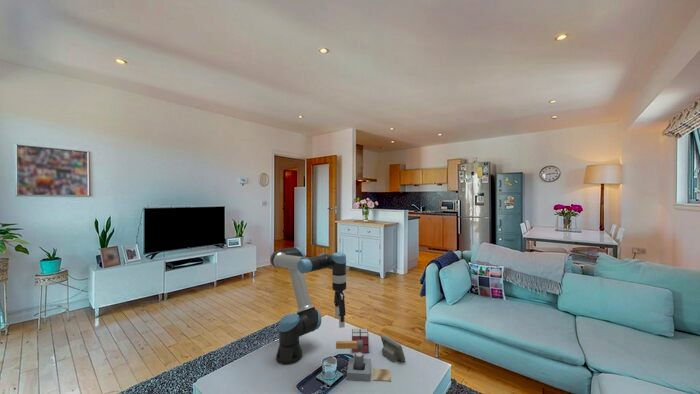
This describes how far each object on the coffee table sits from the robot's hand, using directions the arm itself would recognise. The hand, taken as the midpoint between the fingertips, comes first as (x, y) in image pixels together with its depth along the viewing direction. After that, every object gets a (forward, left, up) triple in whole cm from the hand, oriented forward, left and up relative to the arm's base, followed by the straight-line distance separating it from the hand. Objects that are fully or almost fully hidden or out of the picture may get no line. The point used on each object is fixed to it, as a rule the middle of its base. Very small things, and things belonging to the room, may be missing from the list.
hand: (339, 322), depth 148 cm
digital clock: (+29, +16, -26) cm, 42 cm away
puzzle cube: (+10, +23, -26) cm, 36 cm away
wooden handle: (+5, +4, -16) cm, 17 cm away
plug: (+10, -1, -26) cm, 28 cm away
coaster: (+22, -2, -26) cm, 34 cm away
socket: (+10, -1, -26) cm, 28 cm away
